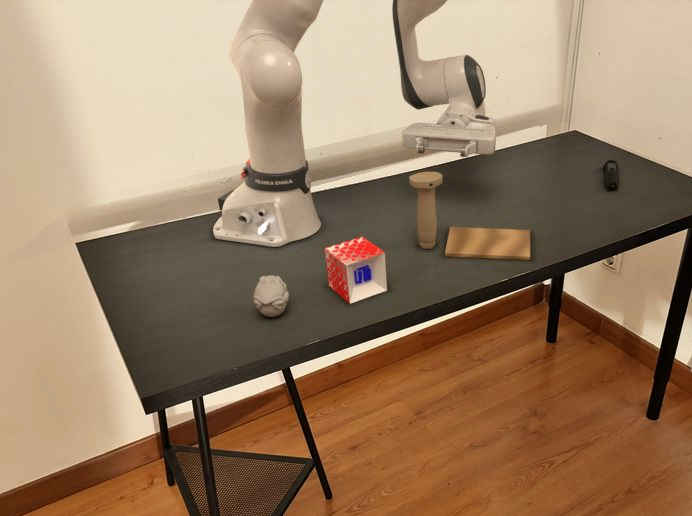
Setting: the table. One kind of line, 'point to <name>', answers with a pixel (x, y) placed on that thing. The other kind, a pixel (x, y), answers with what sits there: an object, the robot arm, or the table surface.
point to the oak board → (488, 243)
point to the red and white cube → (356, 269)
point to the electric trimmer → (611, 174)
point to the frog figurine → (271, 295)
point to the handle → (426, 206)
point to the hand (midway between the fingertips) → (441, 151)
